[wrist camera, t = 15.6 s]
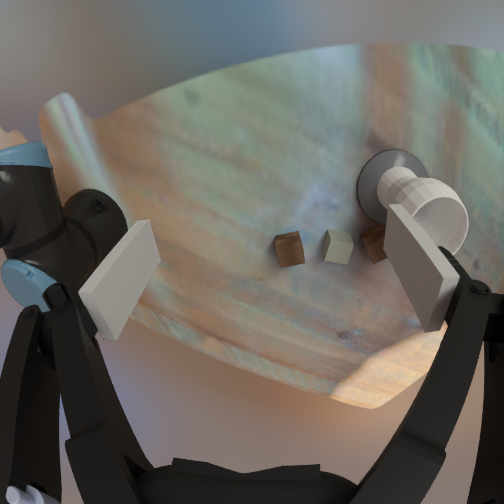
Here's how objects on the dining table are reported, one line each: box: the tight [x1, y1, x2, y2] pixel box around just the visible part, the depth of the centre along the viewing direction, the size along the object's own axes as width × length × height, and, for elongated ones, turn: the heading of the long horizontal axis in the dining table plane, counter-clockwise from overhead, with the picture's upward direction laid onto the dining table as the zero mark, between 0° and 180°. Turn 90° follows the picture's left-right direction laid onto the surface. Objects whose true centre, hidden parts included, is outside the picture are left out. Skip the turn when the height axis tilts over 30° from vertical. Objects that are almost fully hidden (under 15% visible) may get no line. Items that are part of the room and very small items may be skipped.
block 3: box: [360, 226, 388, 264], centre depth 47 cm, size 4×4×4 cm
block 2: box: [322, 229, 354, 265], centre depth 48 cm, size 4×4×4 cm
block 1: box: [275, 231, 305, 268], centre depth 49 cm, size 4×4×4 cm
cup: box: [377, 166, 469, 255], centre depth 36 cm, size 11×11×15 cm
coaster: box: [357, 149, 428, 225], centre depth 43 cm, size 13×13×1 cm
